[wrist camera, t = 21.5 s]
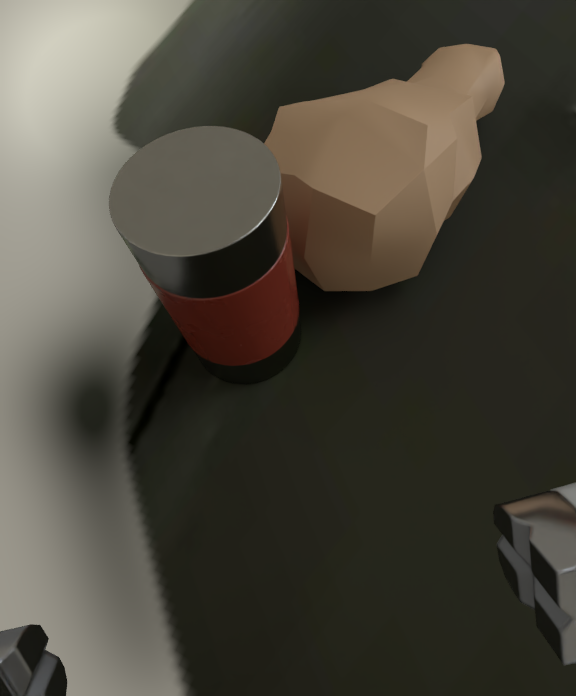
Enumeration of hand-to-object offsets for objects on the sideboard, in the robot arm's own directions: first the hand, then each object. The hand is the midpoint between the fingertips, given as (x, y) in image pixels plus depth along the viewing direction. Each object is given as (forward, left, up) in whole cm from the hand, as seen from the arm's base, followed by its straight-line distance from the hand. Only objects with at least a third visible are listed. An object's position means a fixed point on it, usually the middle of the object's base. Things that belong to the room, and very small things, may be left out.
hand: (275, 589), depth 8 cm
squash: (+5, -22, -13) cm, 26 cm away
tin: (+8, -10, -13) cm, 18 cm away
